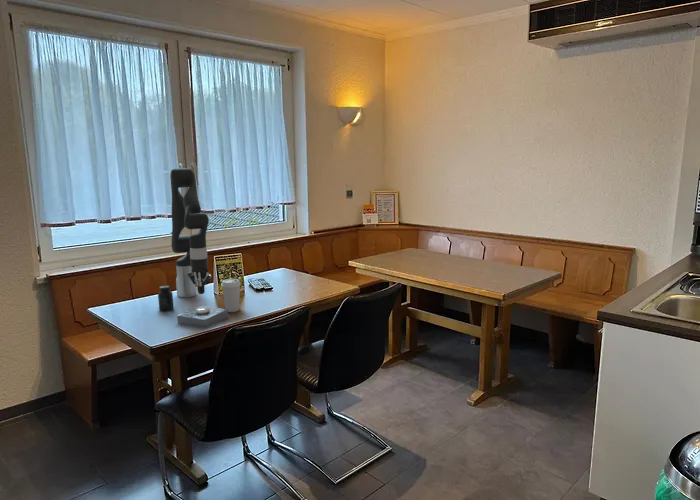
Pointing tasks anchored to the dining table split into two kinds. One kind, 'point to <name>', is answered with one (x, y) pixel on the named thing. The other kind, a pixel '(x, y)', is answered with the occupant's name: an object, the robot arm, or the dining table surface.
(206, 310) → the bushing
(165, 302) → the supplement bottle
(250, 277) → the dining table surface
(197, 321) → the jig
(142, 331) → the dining table surface
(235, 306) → the coffee cup
